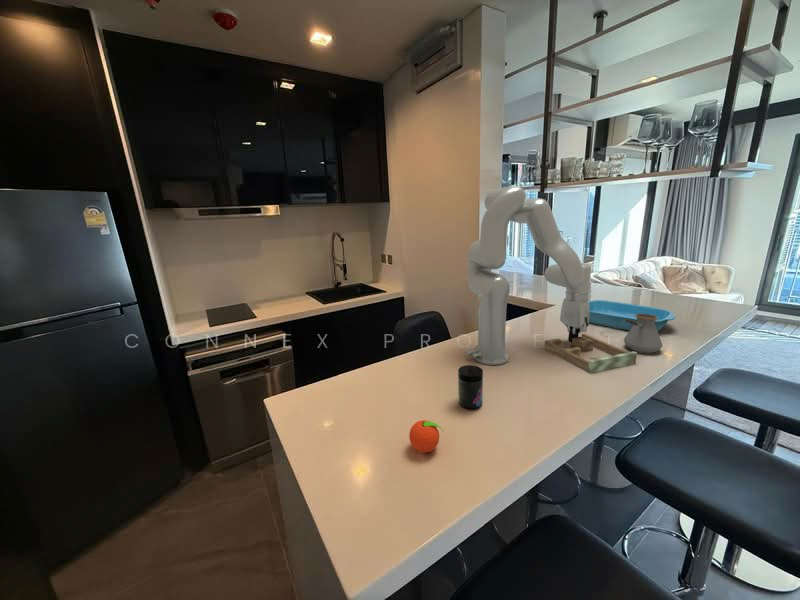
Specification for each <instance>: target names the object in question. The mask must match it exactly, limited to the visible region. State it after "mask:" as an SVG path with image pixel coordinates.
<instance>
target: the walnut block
mask: <svg viewBox="0 0 800 600" xmlns="http://www.w3.org/2000/svg"><path fill="white" fill-rule="evenodd" d="M593 344H594V341H593V340H591V339H589V338H586V337H584V336H582V335H581V336H578V337H576V338H572V343H571V348H574V347H578V348H580V349H581V354H583V353H588V352H593V351H594V347H593Z"/></svg>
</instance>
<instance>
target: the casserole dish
mask: <svg viewBox="0 0 800 600" xmlns="http://www.w3.org/2000/svg"><path fill="white" fill-rule="evenodd" d="M588 302H589V308H590V318H589V324H590V323H591V324H595V325H599V326H603V327H609V328H614V329H618V330H624V331H628V332H629V331H630V330H631V328H632V327H633V326H634V325H633V324H631V323H630V324H629V323H628V322H627V321H626V319H629V320H631V321H635V322H637V317H636V316H635V314H650V315H654V316H656V317H658V319H657V320H656V321H655V326H656V328H657V331H658V332H659V331H660V330H662V329H663V328H664V327H665V326H666V325H667V323H668V322H669V321H673V320H675V319H676V317H677V316H676V315H675V314H674V313H673V312H672V311H671V310H668V309H664V308H659V307H654V306H647V305H640V304H633V303H626V302H619V301H611V300H604V299H593V300H588ZM623 320H624V321H623ZM622 321H623V323H622ZM628 324H629V325H628Z"/></svg>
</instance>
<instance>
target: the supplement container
mask: <svg viewBox="0 0 800 600" xmlns="http://www.w3.org/2000/svg"><path fill="white" fill-rule="evenodd" d="M457 377H458V381H457V383H458V384H457V385H458V387H457V388H458V391H457V393H458V404H459V405H460V406H461V408H463V409H465V410H469V411H470V410H471V411H472V410H478V409H480V408H481V407H482V406H483V402H484V401H483V395H484V394H483V392H484V391H483V390H484V389H483V386H484V382H483V381H484V370H483V369H482V368H481V367H480V366H476V365H473V364H468V365H462V366H460V367H459V368H458V369H457Z"/></svg>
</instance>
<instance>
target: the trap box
mask: <svg viewBox="0 0 800 600" xmlns="http://www.w3.org/2000/svg"><path fill="white" fill-rule="evenodd" d="M582 336H584V337H586V338H589V339H591V340H593V341H594V344H593V348H596V349H598V350H599V351H602V352H604V353H607V354H608V355H609V356H605V357H599V356H594V357H590V358H584V357H582V355H581V354H582V353H581V349H580V348H578V347H574V348H572V347H569V348H564V347H563V341H564V340H563V339H561V338H559V337H558V338H555V339H554V338H553V339H547V340H544V349H545V350H547V351H549V352H551V353H552V354H554V355H556V356H559V358H562V359H563V360H566V361H567V362H568V363H571V364H572V365H574V366H576V367H578V368H580V369H582V370H584V371H586V372H587V373H589V374H594V373H599V372H604V371H608V370H614V369H617V368H621V367H623V368H624V367H627V366H631V365H636V364H637V358H638V357H637V356H638V352H635V351H633V350H632V351H627V350H625V349H622V348H620V347H618V346H615V345H612V344H611V343H607V342H605V341H603V340H600V339H598V338H596V337H593V336H591V335H588V334H585V333H582V335H581V337H582Z"/></svg>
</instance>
